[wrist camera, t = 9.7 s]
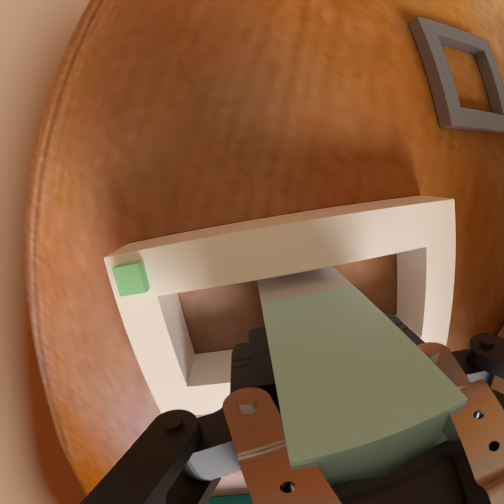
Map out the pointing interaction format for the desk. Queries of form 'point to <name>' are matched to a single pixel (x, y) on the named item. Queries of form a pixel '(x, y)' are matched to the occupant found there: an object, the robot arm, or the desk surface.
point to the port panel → (272, 265)
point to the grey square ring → (441, 79)
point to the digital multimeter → (231, 499)
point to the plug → (349, 379)
